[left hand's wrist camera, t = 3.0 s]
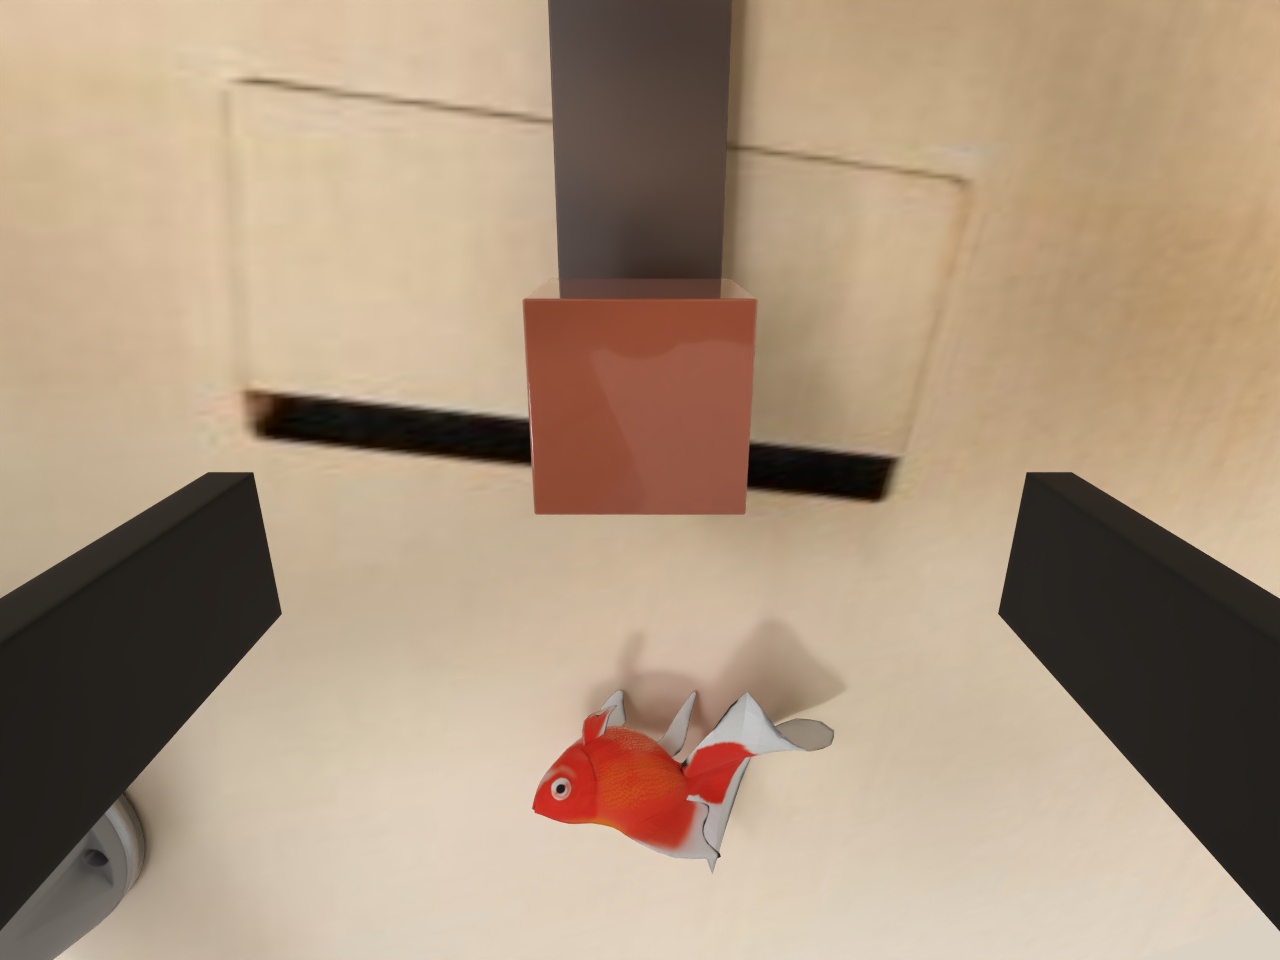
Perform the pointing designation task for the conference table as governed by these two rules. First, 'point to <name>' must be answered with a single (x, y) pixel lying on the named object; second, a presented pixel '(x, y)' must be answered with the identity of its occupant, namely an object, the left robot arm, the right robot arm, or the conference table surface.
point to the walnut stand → (640, 136)
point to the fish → (666, 775)
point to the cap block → (639, 395)
